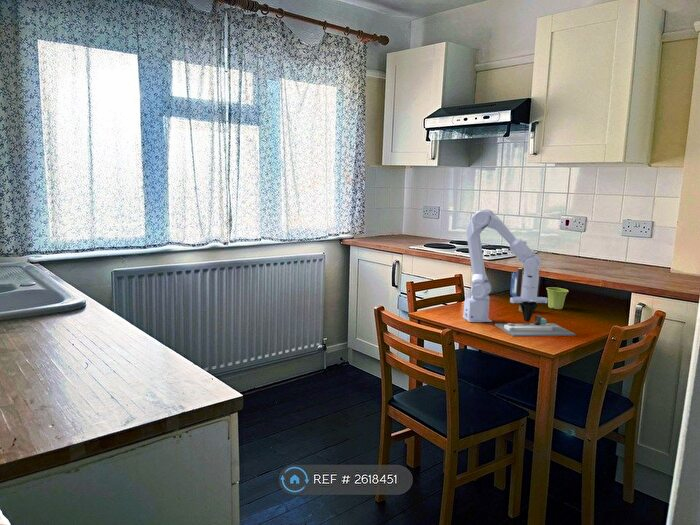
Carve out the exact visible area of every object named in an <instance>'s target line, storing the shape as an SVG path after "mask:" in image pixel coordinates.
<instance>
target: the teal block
mask: <svg viewBox="0 0 700 525" xmlns="http://www.w3.org/2000/svg"><path fill="white" fill-rule="evenodd" d="M546 323H547V319H546V318H545V317H541V324H546Z"/></svg>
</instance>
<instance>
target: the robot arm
mask: <svg viewBox="0 0 700 525" xmlns="http://www.w3.org/2000/svg"><path fill="white" fill-rule="evenodd" d="M486 228H488V229H491V230H495V231H496V232H497V233H498V234H499V235H500V236H501V237H502V238H503V239H504V240H505V241H506V242H507V243H508V244H509V250H510V252H511V253H513V255H514V256H515V257H516V258H517V259H518V260H519V262H520V263H522V264H523V267H524V274H523V283H522V294H521V296H520V297H513V296H511V297H510V298H509V303H511V304H515V303H516V304H519V306H521V309H522V312H521V313H522V315H523V321H524V322H527V323H531V319H532V316H533V314H534V312H535V310H536V309H537V308H538V304H548V297H545V296H544V297H543V296H538V297H537V292H538V282H539V269H540V268H541V266H542V259H541V258H540V256H539V255H538V254H536V252H535V251H534V250H533V251H532V249H530V247H529V246H528V245H527V244H528V242H526V241H525V240H524V241H523V240H522V239H521V238H520V239H518V238H516V236H515V235H514V234H513V233H512V232H511V230H510V229H509V228H508V227H507V226H506V224H505V223H504V222H503V221H502V219H501V218H500V217H499V216H498V215H496V214H494V212H493V210H491V209H488V208H487V209H479V210H477V211H476V212H475V213H473V215H472V216H471V218H470V222H469V224H468V226H467V228H466V231H465V232H466V239H467V240H466V241H467V246H468V254H469V260H470V266H471V272H472V276H471V288H470V294H471V297H466V298H465V299H464V302H463V312H462V318H463V319H465V320H466V321H468V322H469V323H486V322H487V323H491V322H493V320H491V319H490V318H489V312H490V311H489V310H490V302H491V301H490V300H491V297H490V293H491V292H492V285H491V283H490V281H489V278H488V275H487V273H486V267H485V260H484V255H483V248H482V240H481V233H482V232H484V230H485V229H486ZM538 268H539V269H538Z"/></svg>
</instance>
